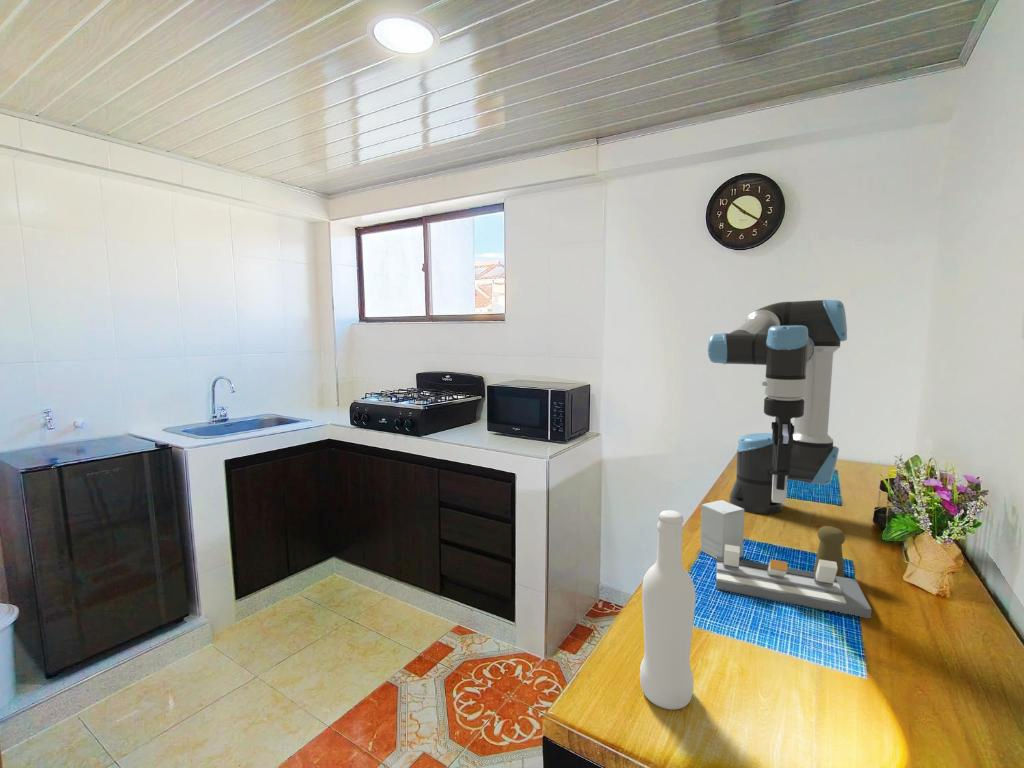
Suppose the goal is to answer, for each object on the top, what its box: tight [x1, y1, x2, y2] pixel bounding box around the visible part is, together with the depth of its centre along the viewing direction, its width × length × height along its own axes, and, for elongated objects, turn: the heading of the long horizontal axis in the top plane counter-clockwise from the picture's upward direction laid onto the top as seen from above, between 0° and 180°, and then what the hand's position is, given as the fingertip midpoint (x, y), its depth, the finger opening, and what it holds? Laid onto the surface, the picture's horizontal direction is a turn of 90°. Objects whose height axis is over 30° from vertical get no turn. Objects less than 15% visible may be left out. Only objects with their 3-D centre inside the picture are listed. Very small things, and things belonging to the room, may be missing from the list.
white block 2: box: [814, 559, 838, 585], centre depth 98 cm, size 2×3×7 cm
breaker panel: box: [715, 556, 872, 619], centre depth 103 cm, size 12×28×2 cm, turn 66°
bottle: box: [639, 509, 697, 711], centre depth 73 cm, size 8×8×30 cm
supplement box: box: [700, 499, 745, 560], centre depth 118 cm, size 7×7×13 cm
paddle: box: [767, 558, 789, 577], centre depth 101 cm, size 2×3×7 cm
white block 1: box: [723, 544, 740, 569], centre depth 106 cm, size 2×3×7 cm
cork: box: [812, 525, 846, 577], centre depth 108 cm, size 6×6×11 cm
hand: (778, 501), depth 104 cm, fingers closed
